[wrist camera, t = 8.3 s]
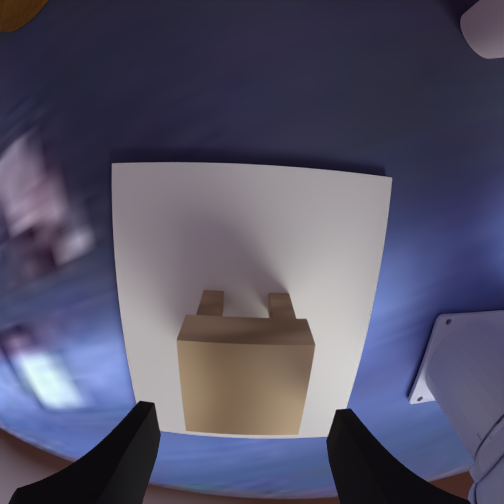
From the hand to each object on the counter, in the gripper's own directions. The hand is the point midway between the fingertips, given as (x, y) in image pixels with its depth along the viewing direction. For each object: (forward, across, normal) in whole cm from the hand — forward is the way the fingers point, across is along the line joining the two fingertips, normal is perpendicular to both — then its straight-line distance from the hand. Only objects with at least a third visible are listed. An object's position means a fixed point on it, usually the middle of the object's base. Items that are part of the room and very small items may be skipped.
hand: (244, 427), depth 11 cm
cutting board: (+8, 0, 0) cm, 8 cm away
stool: (+7, 0, 0) cm, 7 cm away
